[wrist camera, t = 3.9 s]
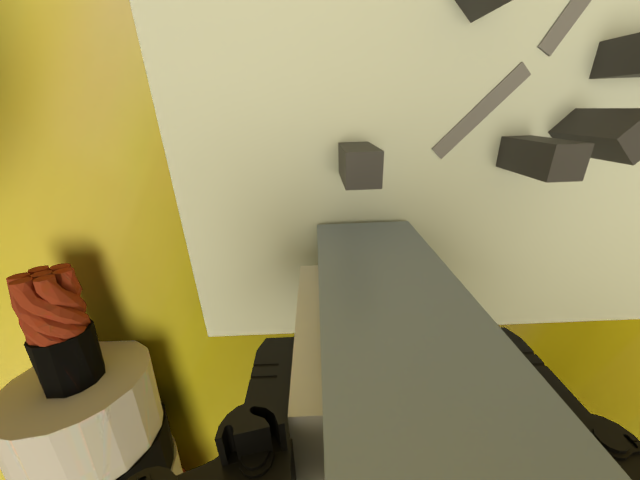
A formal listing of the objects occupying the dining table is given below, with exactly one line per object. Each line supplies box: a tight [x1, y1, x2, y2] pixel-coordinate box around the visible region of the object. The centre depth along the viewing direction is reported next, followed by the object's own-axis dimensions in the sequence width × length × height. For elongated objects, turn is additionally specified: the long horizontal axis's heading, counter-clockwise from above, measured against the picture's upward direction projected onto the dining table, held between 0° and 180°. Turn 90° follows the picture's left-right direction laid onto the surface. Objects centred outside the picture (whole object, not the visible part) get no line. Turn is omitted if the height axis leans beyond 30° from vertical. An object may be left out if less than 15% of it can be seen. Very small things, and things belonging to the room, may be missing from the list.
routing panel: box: [129, 0, 640, 337], centre depth 10 cm, size 20×24×4 cm
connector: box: [317, 221, 632, 480], centre depth 8 cm, size 5×4×13 cm
